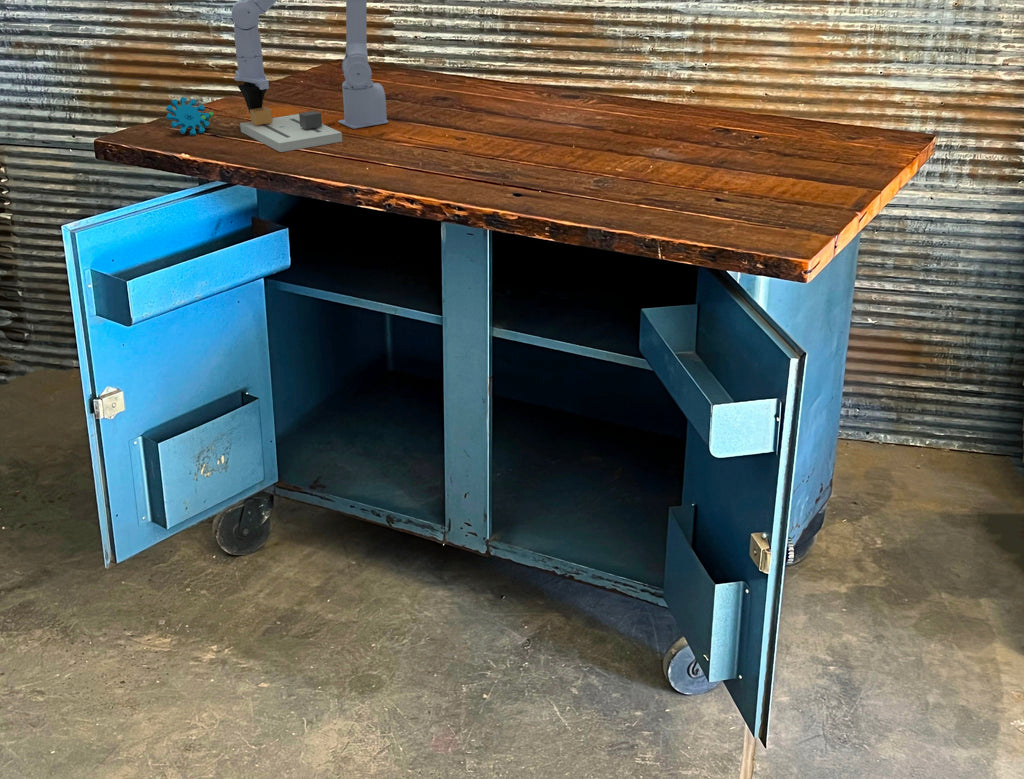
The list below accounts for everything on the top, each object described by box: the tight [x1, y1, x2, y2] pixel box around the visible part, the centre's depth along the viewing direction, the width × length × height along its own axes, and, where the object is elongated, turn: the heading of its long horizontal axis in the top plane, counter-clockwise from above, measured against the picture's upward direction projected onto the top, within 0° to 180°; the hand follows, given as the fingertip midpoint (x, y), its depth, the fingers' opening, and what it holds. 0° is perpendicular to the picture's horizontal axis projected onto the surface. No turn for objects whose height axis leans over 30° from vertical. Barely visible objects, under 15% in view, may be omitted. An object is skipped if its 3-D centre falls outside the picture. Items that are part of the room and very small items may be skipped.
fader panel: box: [239, 113, 343, 153], centre depth 280 cm, size 15×22×2 cm
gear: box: [165, 96, 214, 136], centre depth 286 cm, size 11×6×10 cm
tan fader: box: [249, 106, 273, 125], centre depth 283 cm, size 4×3×3 cm
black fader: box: [298, 110, 323, 129], centre depth 279 cm, size 4×3×3 cm
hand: (255, 115), depth 285 cm, fingers closed
